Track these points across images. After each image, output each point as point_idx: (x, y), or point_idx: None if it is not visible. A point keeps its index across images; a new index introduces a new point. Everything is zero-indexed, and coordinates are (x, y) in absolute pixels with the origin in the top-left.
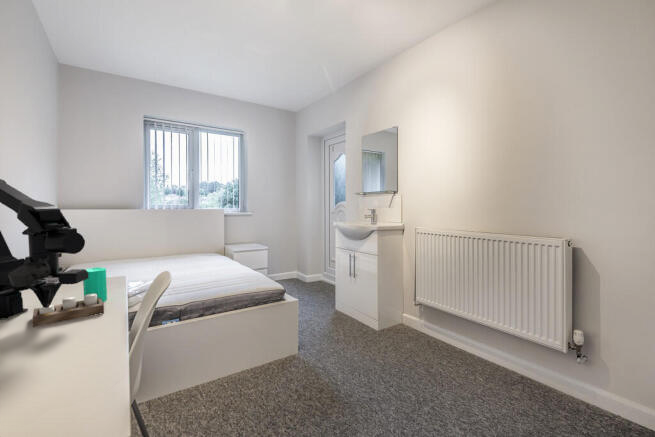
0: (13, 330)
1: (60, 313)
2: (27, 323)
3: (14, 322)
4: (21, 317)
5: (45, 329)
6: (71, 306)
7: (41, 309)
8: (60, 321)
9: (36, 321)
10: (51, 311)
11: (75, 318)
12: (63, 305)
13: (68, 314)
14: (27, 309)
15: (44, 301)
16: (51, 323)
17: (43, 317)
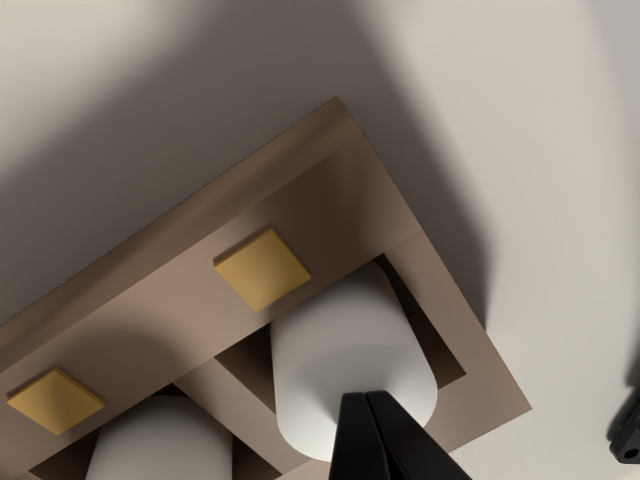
0: (508, 19)
1: (100, 305)
2: (468, 211)
3: (603, 239)
4: (595, 339)
5: (118, 10)
6: (94, 467)
7: (377, 342)
8: (127, 240)
9: (314, 134)
10: (275, 353)
11: (18, 314)
12: (185, 467)
13: (42, 324)
14: (617, 453)
15: (382, 470)
16: (195, 194)
17: (254, 194)
